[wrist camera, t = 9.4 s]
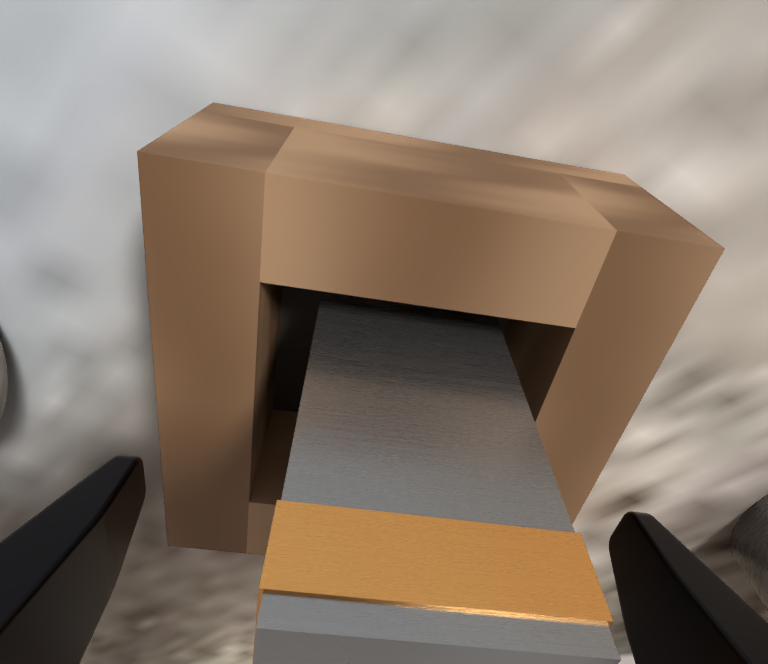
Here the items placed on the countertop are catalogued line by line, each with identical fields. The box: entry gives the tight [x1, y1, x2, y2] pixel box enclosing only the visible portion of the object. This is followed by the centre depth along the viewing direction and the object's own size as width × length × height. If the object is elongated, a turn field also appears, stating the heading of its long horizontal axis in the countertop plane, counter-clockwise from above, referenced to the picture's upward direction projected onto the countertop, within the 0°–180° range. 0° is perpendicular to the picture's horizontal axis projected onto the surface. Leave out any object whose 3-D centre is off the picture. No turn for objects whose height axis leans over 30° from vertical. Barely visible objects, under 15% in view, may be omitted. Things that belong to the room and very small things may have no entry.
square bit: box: [253, 291, 621, 664], centre depth 11 cm, size 4×4×9 cm
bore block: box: [137, 103, 725, 555], centre depth 13 cm, size 10×10×4 cm
